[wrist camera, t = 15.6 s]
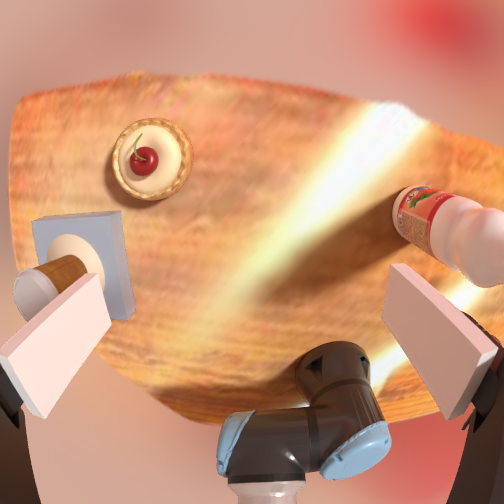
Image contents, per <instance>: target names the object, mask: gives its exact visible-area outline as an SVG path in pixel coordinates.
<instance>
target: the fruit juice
mask: <svg viewBox="0 0 504 504" xmlns="http://www.w3.org/2000/svg"><path fill="white" fill-rule="evenodd" d="M392 218H393V223H394V226H395V228H396V230H397V232H398V233H399V234H400V235H401V236H402V237H403V238H405V239H406V240H408V241H409V242H411V243H412V244H414V245H415V246H417V247H419V248H420V249H422V250H423V251H425V252H426V253H428V254H429V255H431V256H432V257H434V258H435V259H437V260H438V261H439V262H441V263H442V264H444V265H445V266H447V267H449V268H451V269H453V270H456V271H461V272H462V274H463V275H464V276H465V278H466V279H467V280H468V281H469V282H471V283H473V284H474V285H476V286H478V287H482V288H491V287H494V286H497V285H500V284H504V212H502V211H500V210H498V209H495V208H483V207H482V206H481V205H480V204H478V203H477V202H475V201H473V200H470V199H468V198H465V197H461V196H458V195H454V194H451V193H447V192H444V191H440V190H436V189H432V188H428V187H424V186H419V185H415V186H410V187H408V188H406V189H404V190H403V191H402V192H401V193H400V194H399V195H398V196H397V198H396V200H395V202H394V205H393V210H392Z"/></svg>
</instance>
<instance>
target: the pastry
mask: <svg viewBox="0 0 504 504" xmlns="http://www.w3.org/2000/svg"><path fill="white" fill-rule="evenodd" d="M192 165H193V148H192V144H191V141H190V139H189V137H188V135H187V134H186V132H185V131H184V130H183V129H182V128H181V127H180V126H178V125H177V124H176V123H174V122H172V121H169V120H166V119H161V118H148V119H142V120H138V121H136V122H134V123H132V124H131V125H129V126H128V127H127V128H126V129H125V130H124V131H123V132H122V133H121V134H120V136H119V137H118V139H117V141H116V143H115V146H114V150H113V154H112V169H113V172H114V176H115V178H116V180H117V182H118V184H119V185H120V187H121V188H122V189H123V190H124V191H125V192H126V193H127V194H129V195H130V196H132V197H134V198H137V199H140V200H148V201H152V200H159V199H164V198H167V197H169V196H171V195H173V194H175V193H176V192H178V191H179V190H180V188H181V187H182V186H183V185H184V184H185V182H186V180H187V179H188V177H189V175H190V172H191V169H192Z"/></svg>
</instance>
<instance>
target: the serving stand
mask: <svg viewBox="0 0 504 504" xmlns="http://www.w3.org/2000/svg"><path fill="white" fill-rule="evenodd" d="M32 229H33V235H34V240H35V246H36V251H37V255H38V260H39V264H40V265H43V264H45V263H48V262H50V261H53V260H55V259H58V258H61V257H63V256H66V255H75V256H77V257H78V258H79V259H80V260H81V261H82V262H83V263H84V265H85V267H86V269H87V272H88V273H98V275H99V280H100V284H101V288H102V292H103V295H104V299H105V303H106V306H107V310H108V313H109V317H110V319H115V320H125V321H128V320H129V318H130V317H131V316H132V314H133V313H134V311H135V310H136V307H135V302H134V297H133V292H132V287H131V281H130V275H129V269H128V263H127V257H126V250H125V242H124V235H123V226H122V217H121V211H106V212H92V213H78V214H66V215H55V216H44V217H42V218H39V219H37V220H34V221H32Z"/></svg>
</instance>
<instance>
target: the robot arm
mask: <svg viewBox="0 0 504 504" xmlns="http://www.w3.org/2000/svg"><path fill="white" fill-rule="evenodd" d="M381 318H382V320H383V321H384V323H385V324H386V325H387V327H388V328H389V330H390V331H391V333H392V334H393V336H394V337H395V339H396V340H397V342H398V343H399V345H400V346H401V348H402V349H403V351H404V352H405V354H406V355H407V357H408V358H409V360H410V361H411V363H412V365H413V366H414V368H415V369H416V371H417V372H418V374H419V376H420V377H421V379H422V380H423V382H424V384H425V385H426V387H427V389H428V390H429V392H430V393H431V395H432V397H433V398H434V400H435V402H436V404H437V405H438V407H439V409H440V410H441V412H442V414H443V416H444V417H445V419H446V420H450V419H453V418H455V417H457V416H460V415H462V414H464V412H465V411H466V409H467V407H468V405H469V404H470V402H472V403H473V404H474V406H475V409H474V410H473V412H472V413H471V415H470V416H469V418H468V419H467V421H466V422H465V424H464V426H463V428H462V430H465V428H466V427H467V425H468V424H469V429H468V434H467V438H466V443H465V447H464V451H463V455H462V458H461V462H460V466H459V468H458V472H457V475H456V478H455V481H454V484H453V487H452V490H451V492H450V495H449V498H448V500H447V503H446V504H504V348H503V347H502V346H501V345H500V344H499V343H498V342H497V341H496V340H495V339H494V338H493V337H492V336H491V335H490V334H489V333H488V332H487V331H485V330H484V328H483V327H482V326H481V325H478V322H476V321H475V320H474V319H473V318H472V317H471V316H470V315H468V314H466V313H464V312H462V311H460V310H459V309H458V308H456V307H455V306H454V305H453V304H452V303H451V302H450V301H449V300H448V299H446V298H445V297H444V296H443V295H442V294H441V293H440V292H438V291H437V290H436V289H435V288H434V287H433V286H432V285H430V284H429V283H428V282H427V281H426V280H424V279H423V278H422V277H421V276H420V275H418V274H417V273H416V272H415V271H414V270H412V269H411V268H410V267H409V266H407V265H406V264H405V263H398V264H390V269H389V276H388V283H387V289H386V295H385V301H384V307H383V312H382V317H381ZM111 325H112V323H111V320H110V317H109V313H108V310H107V306H106V303H105V299H104V295H103V292H102V288H101V284H100V280H99V275H98V273H86V274H84V275H83V276H82V277H80V278H79V279H78V280H77V281H75V282H74V283H73V284H72V285H71V286H69V287H68V288H67V289H66V290H64V291H63V292H62V293H61V294H60V295H58V296H57V297H56V298H55V299H54V300H53V301H51V302H50V303H49V304H48V305H47V306H46V307H44V308H43V309H42V310H41V311H40V312H39V313H37V314H36V315H35V316H34V317H33V318H32V319H31V320H30V321H29V322H27V323H26V324H25V325H24V326H23V327H22V328H21V329H20V330H19V331H18V332H17V333H16V334H15V335H13V336H12V337H11V338H10V339H9V340H8V341H7V342H6V343H5V344H4V345H3V346H2V347H1V348H0V504H41V501H40V498H39V495H38V491H37V487H36V483H35V479H34V474H33V470H32V465H31V460H30V454H29V448H28V441H27V435H26V427H25V415H24V412H23V410H22V409H21V405H22V403H23V402H24V403H25V405H26V406H27V408H28V409H29V411H30V412H31V414H33V415H36V416H38V417H41V418H43V419H46V417H47V416H48V414H49V413H50V411H51V409H52V408H53V406H54V405H55V403H56V402H57V400H58V399H59V397H60V395H61V394H62V393H63V391H64V390H65V388H66V387H67V385H68V384H69V382H70V381H71V379H72V378H73V377H74V375H75V374H76V372H77V371H78V369H79V368H80V366H81V365H82V364H83V362H84V361H85V360H86V358H87V357H88V355H89V354H90V353H91V351H92V350H93V349H94V347H95V346H96V345H97V343H98V342H99V341H100V339H101V338H102V337H103V335H104V334H105V333H106V331H107V330H108V329H109V327H110V326H111ZM295 379H296V385H297V388H298V391H299V392H300V394H301V395H302V397H303V398H304V399H305V401H306V402H307V404H308V405H309V407H300V408H290V409H278V410H252V411H245V412H235V413H232V414H230V415H229V416H228V417H227V418H226V420H225V421H224V423H223V425H222V428H221V432H220V435H219V440H218V447H217V456H216V457H217V459H218V460H217V471H218V473H219V475H221V476H223V477H225V478H228V487H229V488H230V489H231V490H232V491H234V492H235V493H236V494H237V496H238V504H297V496H296V494H297V492H298V491H299V490H300V489H301V488H302V486H303V485H304V484H305V483H306V479H305V473H309V472H316V471H320V474H321V475H322V477H323V478H324V479H327V480H340V479H346V478H349V477H352V476H355V475H357V474H360V473H362V472H364V471H366V470H368V469H369V468H371V467H372V466H374V465H375V464H377V463H378V462H379V461H380V460H382V458H384V457H385V455H386V454H387V453H388V451H389V449H390V447H391V437H390V433H389V430H388V424H387V422H386V421H385V419H384V416H383V414H382V412H381V409H380V407H379V405H378V402H377V400H376V398H375V395H374V393H373V391H372V389H371V386H370V362H369V359H368V357H367V355H366V353H365V351H364V350H363V349H362V348H361V347H360V346H358V345H356V344H354V343H351V342H344V341H339V342H331V343H327V344H324V345H321V346H319V347H317V348H315V349H313V350H312V351H310V352H309V353H308V354H307V355H305V356H304V357H303V358H302V360H301V361H300V362H299V364H298V366H297V368H296V371H295Z"/></svg>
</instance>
